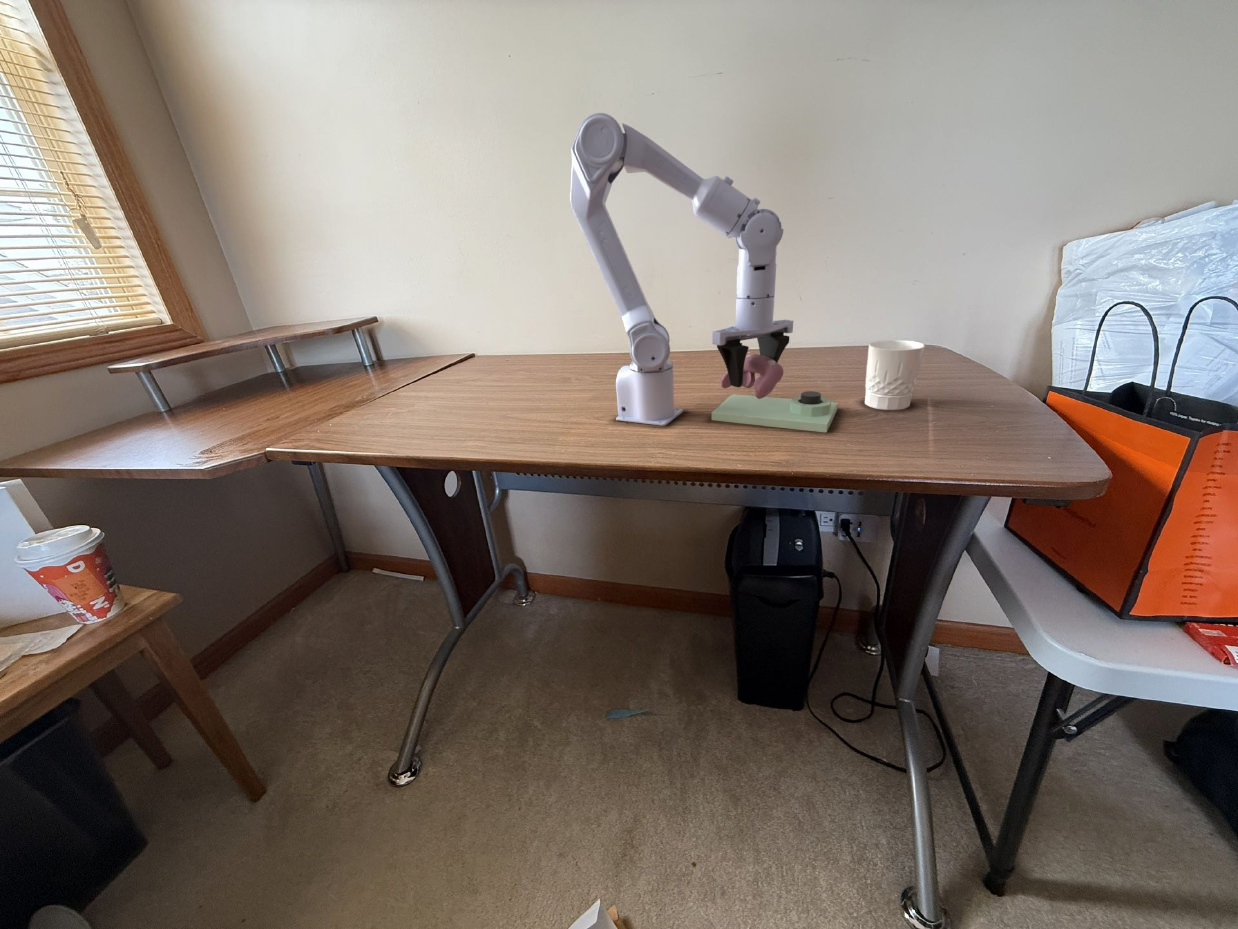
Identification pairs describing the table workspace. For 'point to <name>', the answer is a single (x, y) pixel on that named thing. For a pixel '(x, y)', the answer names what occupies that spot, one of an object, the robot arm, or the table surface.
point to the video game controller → (760, 365)
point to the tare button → (810, 398)
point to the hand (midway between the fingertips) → (751, 382)
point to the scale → (776, 412)
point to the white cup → (892, 373)
